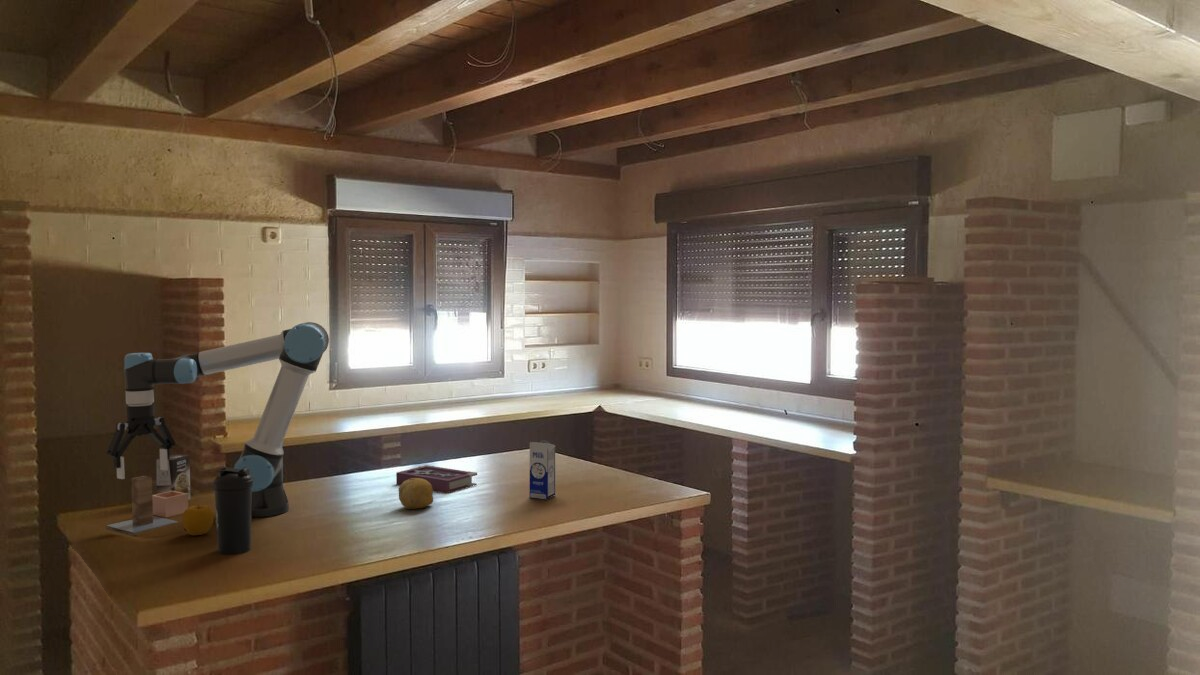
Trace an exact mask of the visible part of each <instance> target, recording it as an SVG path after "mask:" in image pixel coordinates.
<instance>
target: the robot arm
mask: <svg viewBox="0 0 1200 675" xmlns="http://www.w3.org/2000/svg"><path fill="white" fill-rule="evenodd" d="M329 340H330V339H329V334H328V332H327V330H326V328H324V326H322V325H320V323H318V322H317V323H316V322H313V321H312V322H311V321H307V322H302V323H299V324H296V325H294V326H293V327H292V328H289V329H285V330H282V331H281V332H280V334H275V335H272V336H268V337H263V338H258V339H254V340H248V341H244V342H239V343H234V344H230V345H227V346H222V347H216V348H213V349H208V350H203V351H199V352H194V353H190V354H183V355H180V356H179V357H174V358H165V359H164V358H163V359H162V358H161V359H158V358H157V359H156V358H153V354H152V353H151V352H132V353H127V354H126V355H125V356H124V364H123V365H124V368H123V370H124V383H125V384H124V385H125V387H124V388H125V404H126V407H125V411H126V412H125V413H126V414H125V415H126V422H125V423H124V422H123V423H122V422H117V423H116V425H115V432H114V434H113V437H112V438H111V442H110V443H109V446H108V448H107V450H106V453H105V454H106V456H108V457H112V459H113V467H114V469H116V478H117V479H119V480H125V478H126V476H125V475H126V473H125V457H124V456H123V454H124V452H125V451H126V450H127V448H128V447H129V445H130V444H131V442H132V441H133V439H135V438H136V437H137V436H138V437H140V436H143V435H144V436H146V435H150V436H151V437H152V439H154V441H155V442H156V443H158V445H159V446H160V447H161V448H159V458H160V470H168V460H167V459H169V457H170V456H171V455H170V449H172V447H173V446H176V441H175V440H174V437H173V436H172V435H171V432H170V431H169V429H168V427H167V425H166V421H165V420H166V419H165V418H164V417H162V416H161V417H160V416H157V417H156V418H155V414H156V413H155V404H153V403H155V394H154V393H155V392H154V385H165V384H166V385H168V384H177V385H178V384H181V385H184V384H193V383H195V381H196V379H197V378H199V377H203V376H207V375H212V374H215V373H219V372H220V373H221V372H226V371H228V370H229V371H230V370H234V369H239V368H243V367H248V366H253V365H257V364H261V363H265V362H271V361H275V360H279V362H280V365H281V366H280V369H279V372H278V374H277V376H276V379H275V382H274V384H273V387H272V390H271V393H270V395H269V397H268V399H267V402H266V405H265V407H264V410H263V412H262V415H261V417H260V420H259V422H258V425H257V426H256V430H255V432H254V435H253V437H252V438H250V439H248V440H246V442H245V443H244V445H243V446H244V447H243V449H242V452H241V454H240V457H239V459H238V460H237V461H236V462H235V464H234V466H233V468H235V469H240V470H241V469H242V468H244V467H247V468H249V470H250V471H249V474H250V475H251V477H252V478H253V487H252V506H251V518H254V517H255V518H261V517H262V518H263V517H264V518H265V517H271V516H272V517H273V516H277V515H281V514H284V513H285V514H286V513H287V512H289V509H290V502H289V500H288V496H287V495H286V491H285V488H284V469H283V468H284V464H283V463H284V459H283V458H284V457H283V456H284V453H285V452H284V448H283V443H284V440H285V437H286V434H287V432H288V429H289V426H290V425H291V421H292V419H293V416H294V414H295V412H296V409H297V407H298V404H299V401H300V400H301V398H302V394H303V391H304V389H305V387H306V384H307V381H308V379H309V376H311V374H314V373H316V372H317V369H318V367H319V364H320V363H321V359H322V356H323V354H324V353H325V352H326V351H327V349H328V347H329V342H330V341H329ZM155 425H156V426H157V429H158V430H159V432H160V433H159V432H158V431H157V430H156V428H155V427H154V426H155ZM127 429H128V430H127ZM126 430H127V431H126ZM125 431H126V432H125ZM160 434H161V435H160Z"/></svg>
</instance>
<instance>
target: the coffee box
mask: <svg viewBox="0 0 1200 675" xmlns="http://www.w3.org/2000/svg"><path fill="white" fill-rule="evenodd" d="M190 456H191V455H189V454H172V455H170V457H169V459H167V460H168V470H160V457H158V458H157V459H155V460H156V494H160V493H165V492H169V491H177V492H182V493H187V494H188V500H191V469H190V468H191V462H190V458H191V457H190Z"/></svg>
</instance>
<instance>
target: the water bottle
mask: <svg viewBox="0 0 1200 675" xmlns="http://www.w3.org/2000/svg"><path fill="white" fill-rule="evenodd" d="M249 471H250V470H249V468H247V467H244V468H242V469H241V470H240V469H235V468H234V467H227V466H226V467H221V468H219V469H217V473H218V475H217V476H216V477H215V478H214V480H213V481H212V483H213V490H214V496H215V498H214V499H215V505H214V506H215V522H216V523H215V524H216V525H215V526H216V539H217V552H218V554H220V555H226V556H227V555H230V556H232V555H241V554H244V553H247V552H249V551H250V550H251V549H252V517H251V506H252V487H253V478H252V477H251V475H250V474H249Z"/></svg>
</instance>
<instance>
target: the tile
mask: <svg viewBox="0 0 1200 675" xmlns="http://www.w3.org/2000/svg"><path fill="white" fill-rule="evenodd" d="M178 523H179V521H177V520H173V519H170V518H165V517H161V516H156V515H153V523H151V524H146V525H142V526H139V525H135V524H133V521H132V519H129V520H123V521H121V522H115V523H111V524H108V525H106V527H107V528H106V530H108V531H111V532H116V533H119V534H124V535H126V536H127V535H128V536H131V537H136V536H137V535H135V534H137V533H141V532H144V531H148V530H153V529H157V528H161V527H165V526H169V525H174V524H178ZM127 532H128V533H127Z"/></svg>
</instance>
